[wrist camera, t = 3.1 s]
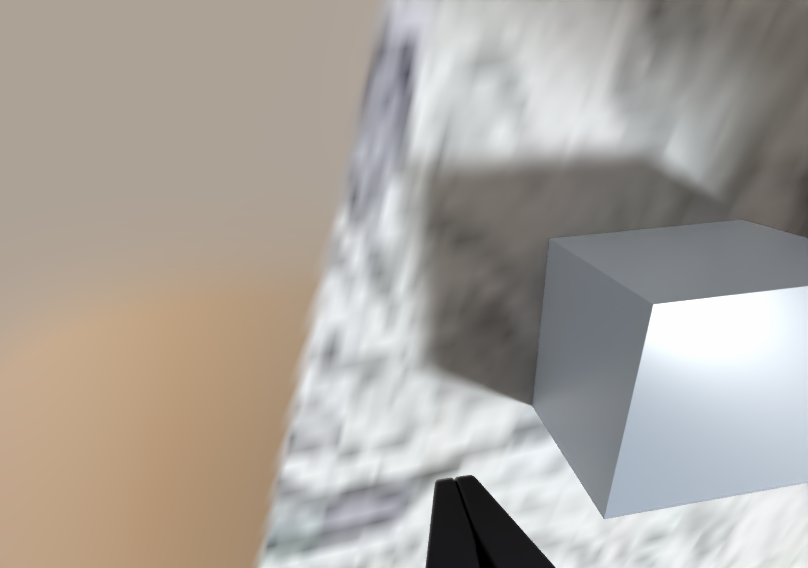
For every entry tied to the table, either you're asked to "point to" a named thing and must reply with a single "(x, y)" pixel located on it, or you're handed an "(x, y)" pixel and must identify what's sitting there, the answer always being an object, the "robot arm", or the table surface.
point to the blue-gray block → (676, 362)
